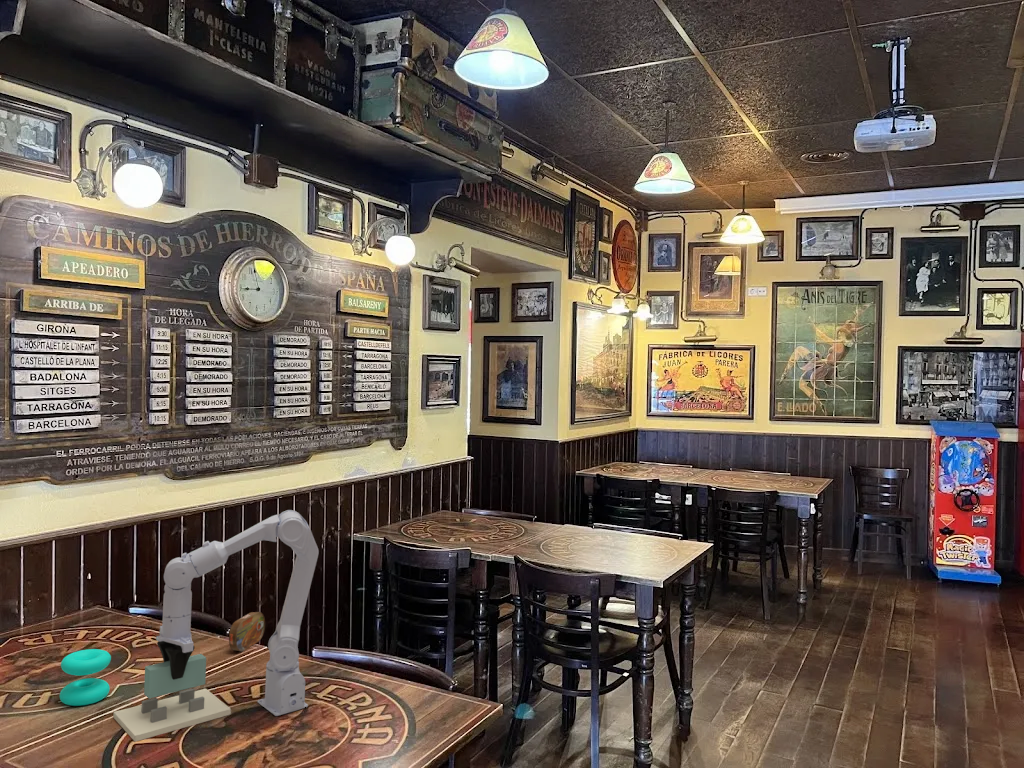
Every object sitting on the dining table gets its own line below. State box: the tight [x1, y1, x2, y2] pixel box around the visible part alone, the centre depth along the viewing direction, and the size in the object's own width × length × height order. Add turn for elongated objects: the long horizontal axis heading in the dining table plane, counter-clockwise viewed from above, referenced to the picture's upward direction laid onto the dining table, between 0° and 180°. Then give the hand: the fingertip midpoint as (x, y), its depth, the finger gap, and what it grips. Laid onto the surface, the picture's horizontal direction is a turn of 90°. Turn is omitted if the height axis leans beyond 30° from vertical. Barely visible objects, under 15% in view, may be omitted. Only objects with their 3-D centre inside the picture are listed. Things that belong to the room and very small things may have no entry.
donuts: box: [59, 648, 112, 707], centre depth 171 cm, size 10×10×10 cm
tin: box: [228, 611, 266, 652], centre depth 208 cm, size 15×3×8 cm, turn 168°
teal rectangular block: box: [143, 653, 207, 699], centre depth 165 cm, size 3×12×6 cm, turn 134°
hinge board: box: [112, 687, 232, 742], centre depth 164 cm, size 14×20×4 cm
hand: (174, 675), depth 164 cm, fingers closed on teal rectangular block, 3 cm apart
